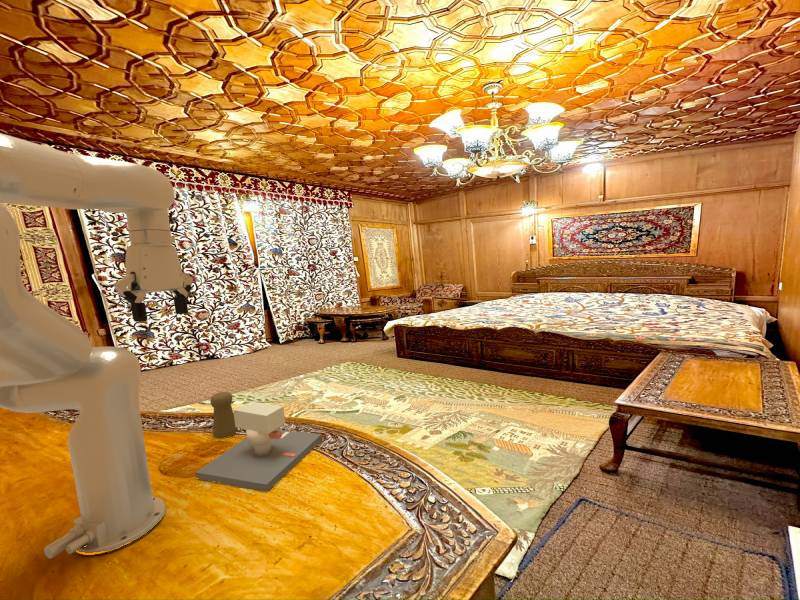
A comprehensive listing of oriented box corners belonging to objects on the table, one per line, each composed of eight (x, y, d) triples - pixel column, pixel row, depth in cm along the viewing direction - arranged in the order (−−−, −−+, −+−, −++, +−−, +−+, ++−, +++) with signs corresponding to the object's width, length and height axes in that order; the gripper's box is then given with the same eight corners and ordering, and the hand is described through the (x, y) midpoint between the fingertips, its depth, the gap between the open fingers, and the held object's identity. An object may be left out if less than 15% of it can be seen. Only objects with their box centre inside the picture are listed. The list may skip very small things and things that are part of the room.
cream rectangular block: (235, 440, 80) (231, 411, 79) (256, 428, 85) (252, 400, 84) (270, 448, 75) (266, 417, 74) (290, 435, 80) (286, 405, 80)
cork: (219, 441, 90) (214, 399, 89) (208, 435, 94) (203, 395, 93) (242, 431, 95) (237, 391, 94) (231, 425, 98) (226, 387, 97)
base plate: (267, 491, 68) (264, 469, 68) (196, 479, 74) (193, 458, 74) (322, 440, 87) (320, 422, 87) (261, 433, 93) (259, 416, 92)
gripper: (174, 242, 87) (184, 311, 89) (95, 240, 71) (109, 325, 73) (198, 240, 85) (207, 311, 86) (121, 237, 68) (135, 324, 70)
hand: (162, 317), depth 80 cm, fingers open, 9 cm apart
